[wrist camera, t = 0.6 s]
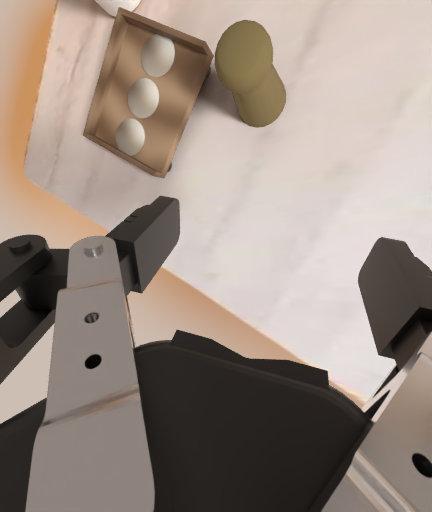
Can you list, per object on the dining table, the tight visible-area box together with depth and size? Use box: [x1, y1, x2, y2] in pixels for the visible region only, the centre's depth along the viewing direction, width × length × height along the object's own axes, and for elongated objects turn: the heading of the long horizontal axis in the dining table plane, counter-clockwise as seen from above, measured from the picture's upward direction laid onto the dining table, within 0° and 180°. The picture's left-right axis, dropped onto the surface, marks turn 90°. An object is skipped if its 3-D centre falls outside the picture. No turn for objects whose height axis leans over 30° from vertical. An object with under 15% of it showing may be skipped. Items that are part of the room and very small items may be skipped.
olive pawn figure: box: [215, 20, 286, 127], centre depth 26 cm, size 6×6×11 cm
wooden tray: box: [83, 7, 214, 178], centre depth 34 cm, size 16×13×4 cm
